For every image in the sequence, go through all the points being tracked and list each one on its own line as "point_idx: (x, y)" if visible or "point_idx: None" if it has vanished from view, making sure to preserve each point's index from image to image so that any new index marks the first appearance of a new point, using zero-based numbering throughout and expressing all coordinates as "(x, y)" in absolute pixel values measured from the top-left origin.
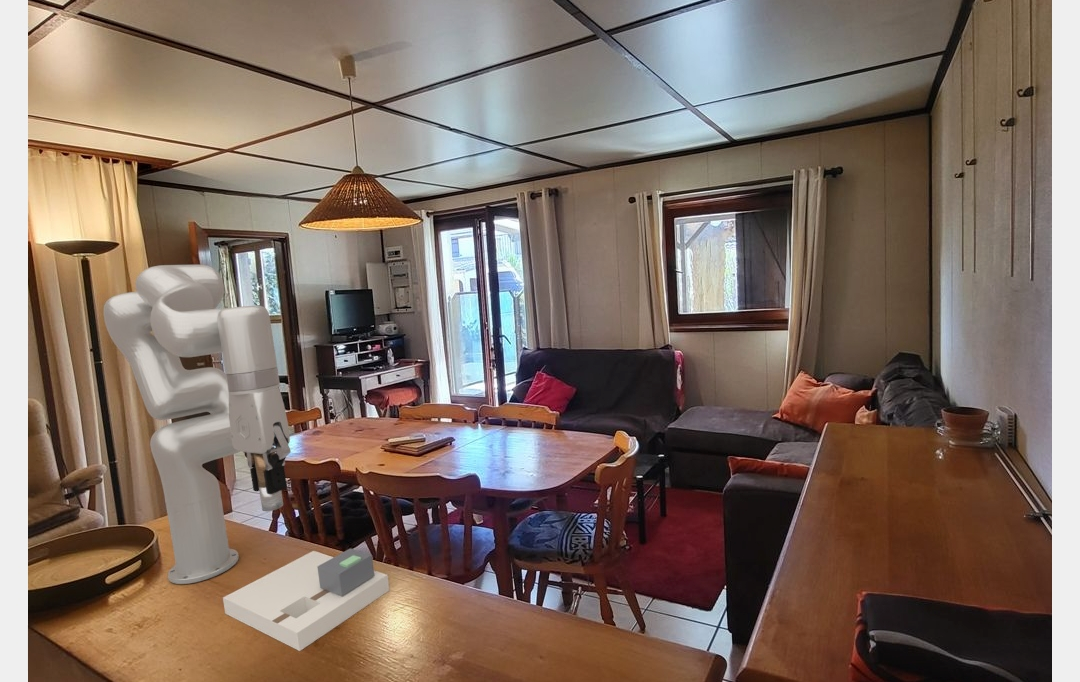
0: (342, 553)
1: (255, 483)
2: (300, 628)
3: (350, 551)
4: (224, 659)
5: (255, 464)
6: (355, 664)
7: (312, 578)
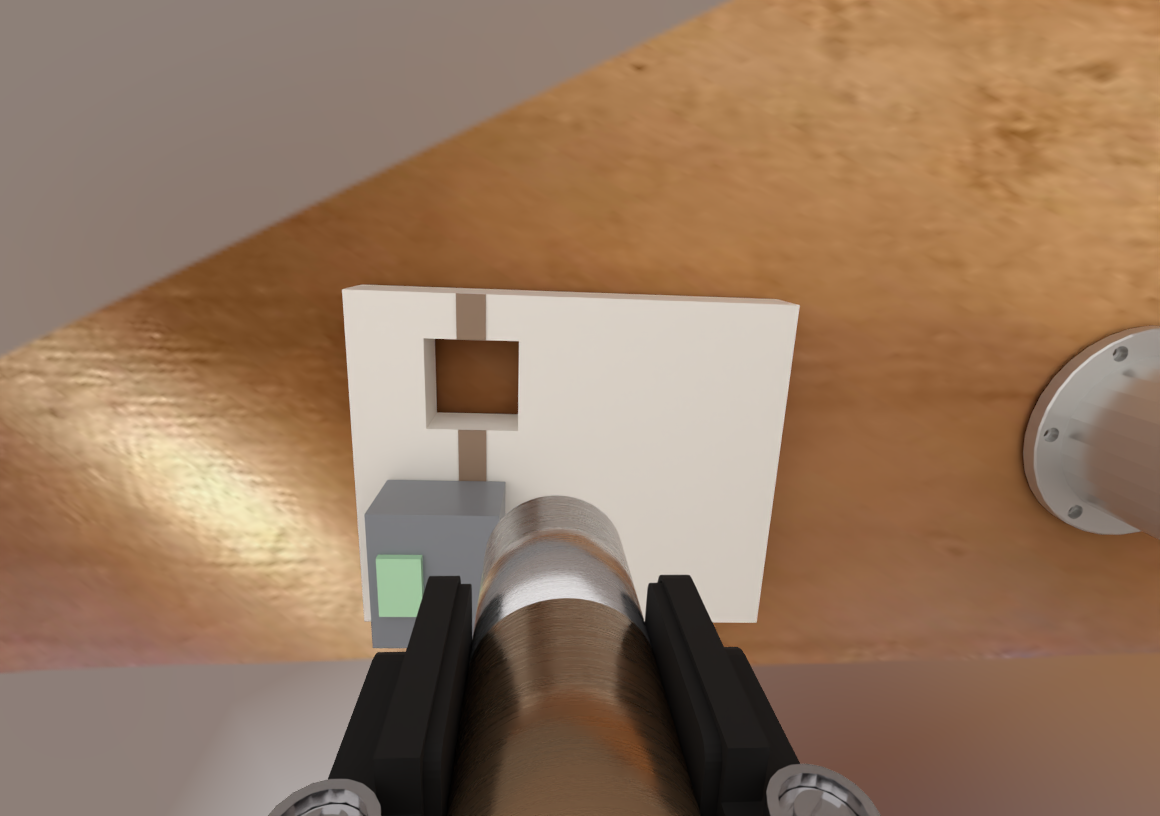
0: None
1: (664, 624)
2: (354, 309)
3: None
4: (551, 160)
5: None
6: (163, 320)
7: None
